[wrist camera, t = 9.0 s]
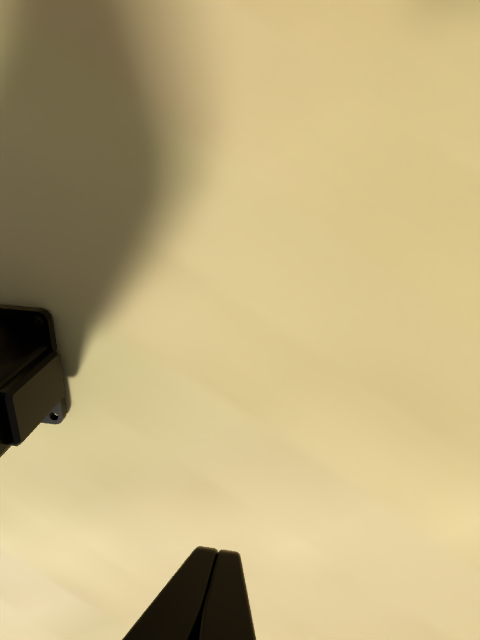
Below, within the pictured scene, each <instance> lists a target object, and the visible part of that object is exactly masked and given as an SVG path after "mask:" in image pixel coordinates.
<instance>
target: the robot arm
mask: <svg viewBox="0 0 480 640" xmlns="http://www.w3.org/2000/svg"><path fill="white" fill-rule="evenodd" d="M38 316H39V317H41V318H42V320H43V322H41V321H40V320H39V319H38ZM64 396H65V389H64V382H63V375H62V368H61V362H60V355H59V353H58V351H57V347H56V340H55V333H54V326H53V320H52V316H51V314H50V313H49V312H48V311H47V310H45V309H42V308H33V307H21V306H10V305H0V457H1V456H2V455H3V454H4V453H5V452H6V451H7V450H8V449H9V448H10V447H11V446H18V445H20V444H21V443H22V442H23V441H24V440H25V439H26V438H27V437H28V436H29V435H30V433H31V432H32V431H33V430H34V429H35V428H36V427H37V426H38V425H39V424H40V423H49V424H59V423H61V422H62V421H63V420H64V418H65V417H66V407H65V401H64ZM53 412H54V413H56V414H57V415H58V416H56V415H55V414H54V413H53ZM122 640H256V636H255V631H254V626H253V621H252V615H251V610H250V605H249V599H248V594H247V589H246V583H245V578H244V573H243V568H242V562H241V557H240V554H239V553H238V552H235V551H228V550H220V551H219V552H218V551H217V549H215V548H209V547H202V546H199V547H197V548H196V549H195V550H194V551H193V552H192V553H191V554H190V556H189V557H188V558H187V559H186V561H185V562H184V563H183V564H182V566H181V567H180V568H179V569H178V571H177V572H176V573H175V574H174V576H173V577H172V578H171V579H170V581H169V582H168V583H167V584H166V586H165V587H164V588H163V589H162V591H161V592H160V593H159V594H158V596H157V597H156V598H155V599H154V601H153V602H152V603H151V604H150V606H149V607H148V608H147V609H146V611H145V612H144V613H143V614H142V616H141V617H140V618H139V619H138V621H137V622H136V623H135V624H134V626H133V627H132V628H131V629H130V631H129V632H128V633H127V634H126V636H125V637H124V638H123V639H122Z"/></svg>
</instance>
